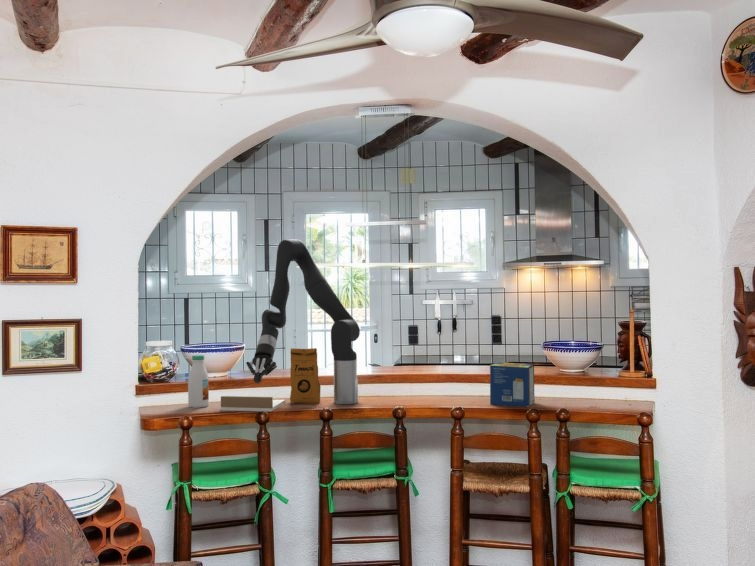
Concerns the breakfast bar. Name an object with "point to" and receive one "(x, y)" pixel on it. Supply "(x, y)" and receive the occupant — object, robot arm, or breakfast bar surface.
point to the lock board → (249, 403)
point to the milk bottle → (198, 383)
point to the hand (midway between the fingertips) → (256, 382)
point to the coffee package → (304, 376)
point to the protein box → (512, 384)
